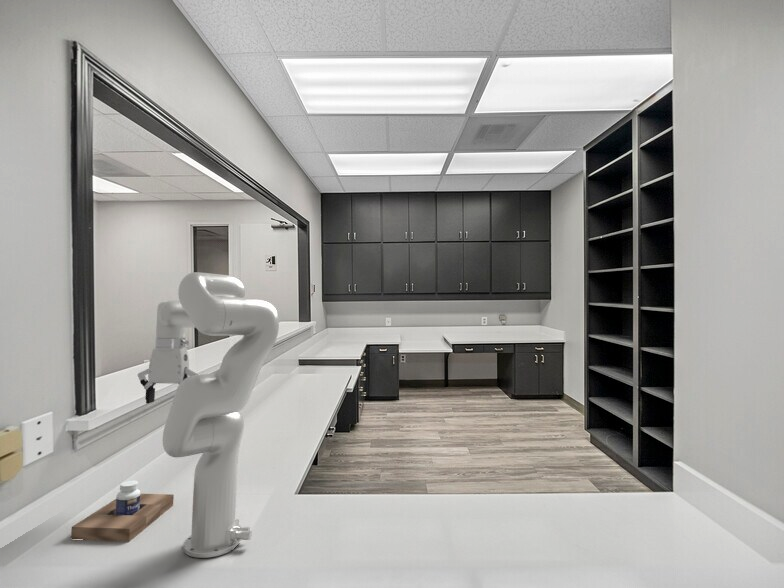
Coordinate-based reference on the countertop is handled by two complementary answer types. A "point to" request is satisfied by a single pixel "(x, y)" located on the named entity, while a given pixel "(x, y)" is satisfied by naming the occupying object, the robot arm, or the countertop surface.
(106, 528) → the socket block
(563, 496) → the countertop surface
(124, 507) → the pill bottle
